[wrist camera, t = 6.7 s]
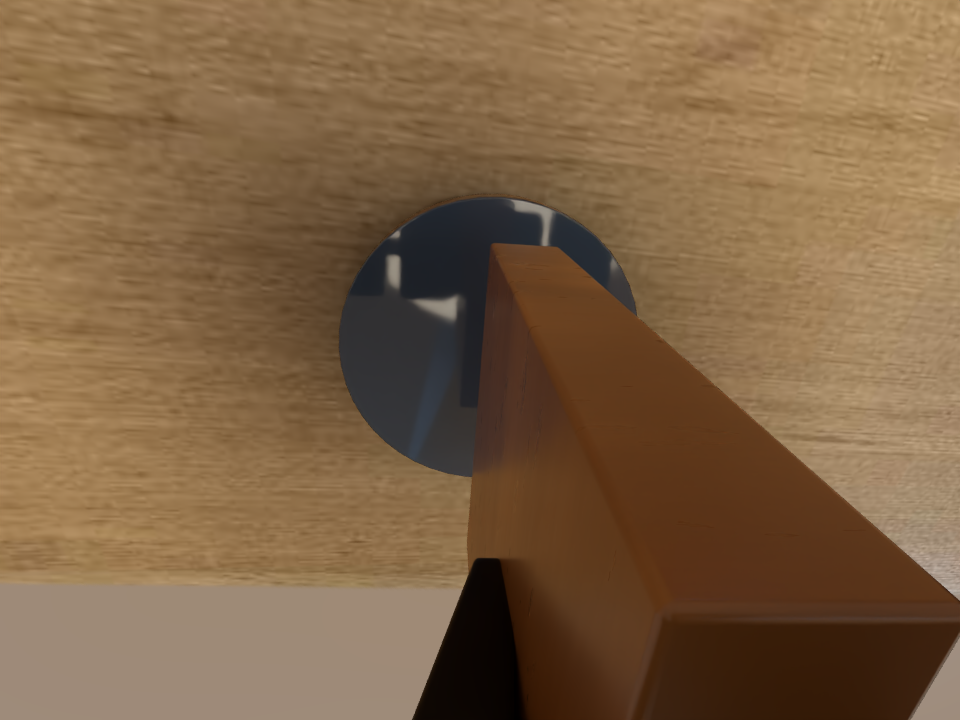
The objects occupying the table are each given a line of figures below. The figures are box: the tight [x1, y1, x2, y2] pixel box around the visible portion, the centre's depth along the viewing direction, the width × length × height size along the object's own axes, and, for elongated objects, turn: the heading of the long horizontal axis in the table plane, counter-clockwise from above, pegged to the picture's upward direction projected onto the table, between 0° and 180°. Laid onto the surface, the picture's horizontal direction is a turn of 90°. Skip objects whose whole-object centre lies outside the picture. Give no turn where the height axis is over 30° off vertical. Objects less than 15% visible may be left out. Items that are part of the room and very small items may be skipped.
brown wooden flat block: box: [467, 243, 960, 720], centre depth 9 cm, size 2×9×10 cm, turn 176°
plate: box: [339, 194, 637, 477], centre depth 18 cm, size 10×10×1 cm
